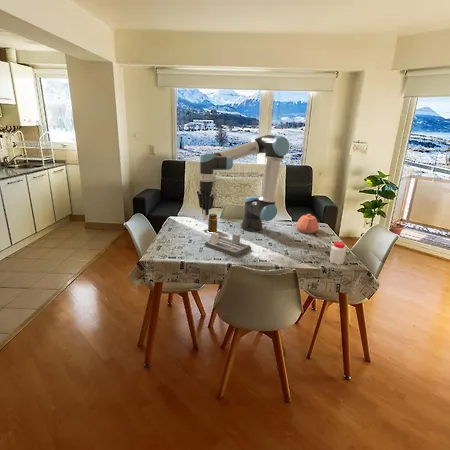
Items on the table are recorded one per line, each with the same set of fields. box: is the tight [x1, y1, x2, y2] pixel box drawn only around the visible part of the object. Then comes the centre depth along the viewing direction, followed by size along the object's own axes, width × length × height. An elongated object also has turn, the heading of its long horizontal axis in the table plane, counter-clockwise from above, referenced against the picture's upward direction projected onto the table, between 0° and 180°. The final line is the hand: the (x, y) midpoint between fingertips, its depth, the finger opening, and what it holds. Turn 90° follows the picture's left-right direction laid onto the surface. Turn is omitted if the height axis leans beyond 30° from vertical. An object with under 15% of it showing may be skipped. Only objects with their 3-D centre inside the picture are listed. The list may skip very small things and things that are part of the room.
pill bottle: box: [328, 241, 347, 263], centre depth 163 cm, size 8×8×11 cm
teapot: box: [295, 213, 320, 234], centre depth 211 cm, size 22×16×12 cm
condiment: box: [203, 213, 220, 233], centre depth 202 cm, size 7×8×12 cm
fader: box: [210, 232, 220, 244], centre depth 177 cm, size 4×3×6 cm
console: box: [204, 232, 252, 258], centre depth 176 cm, size 24×14×8 cm, turn 52°
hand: (205, 219), depth 178 cm, fingers closed
